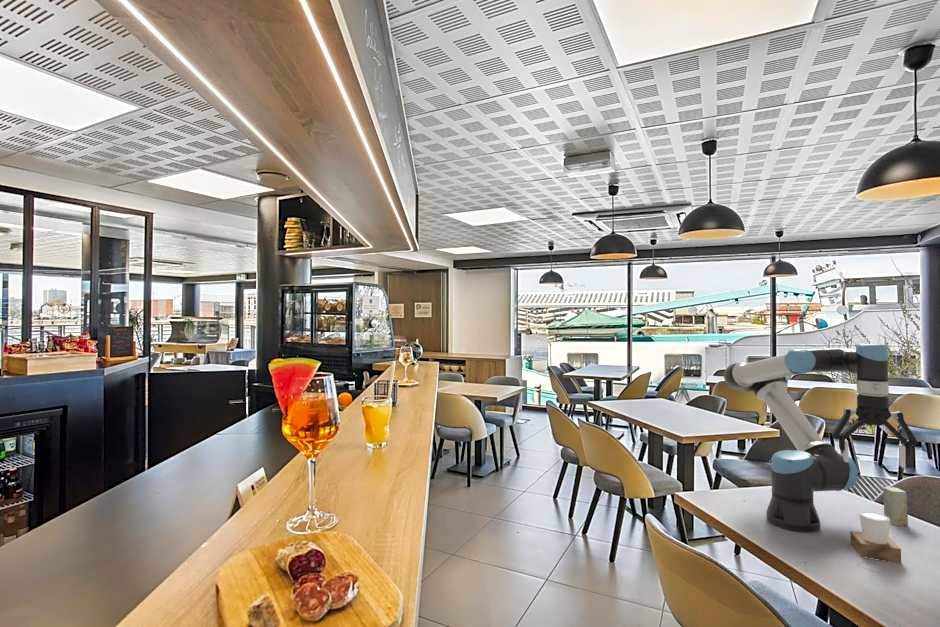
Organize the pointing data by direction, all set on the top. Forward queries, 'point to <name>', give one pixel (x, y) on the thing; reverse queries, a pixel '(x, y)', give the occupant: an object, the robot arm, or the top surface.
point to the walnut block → (875, 548)
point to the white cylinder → (875, 527)
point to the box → (895, 505)
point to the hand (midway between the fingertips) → (873, 464)
